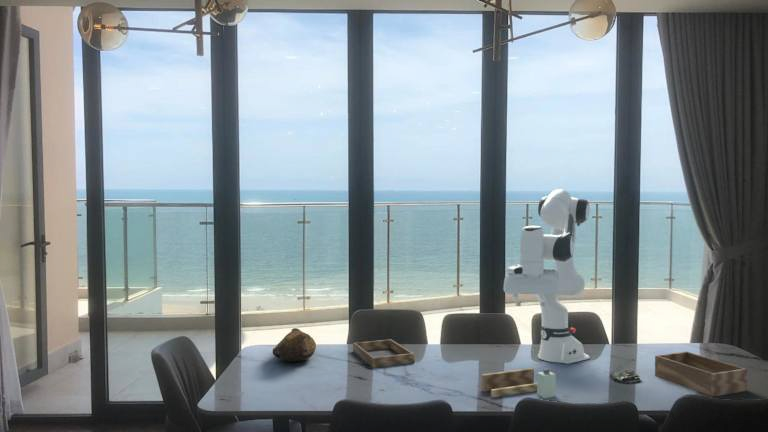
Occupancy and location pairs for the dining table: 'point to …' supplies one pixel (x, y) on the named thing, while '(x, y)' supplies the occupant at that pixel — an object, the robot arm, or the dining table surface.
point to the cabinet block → (546, 384)
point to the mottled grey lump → (625, 377)
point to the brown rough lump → (295, 346)
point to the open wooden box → (701, 373)
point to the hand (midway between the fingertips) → (530, 306)
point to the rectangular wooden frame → (402, 358)
